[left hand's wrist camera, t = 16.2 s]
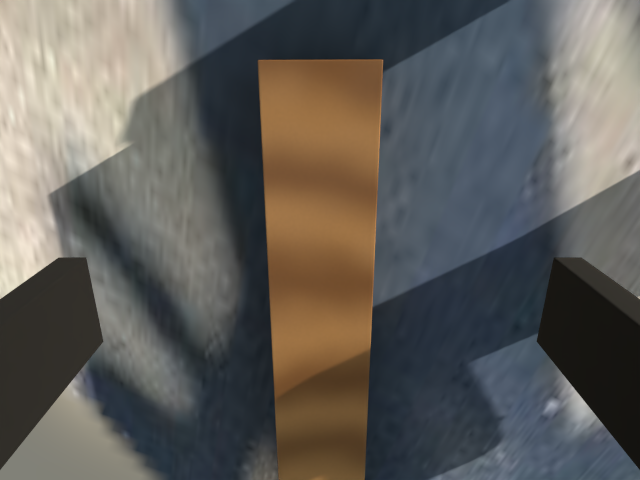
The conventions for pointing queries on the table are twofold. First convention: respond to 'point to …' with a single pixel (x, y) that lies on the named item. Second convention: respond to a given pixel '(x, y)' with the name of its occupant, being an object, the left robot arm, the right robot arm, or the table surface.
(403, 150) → the table surface
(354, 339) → the thick board
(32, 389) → the left robot arm
